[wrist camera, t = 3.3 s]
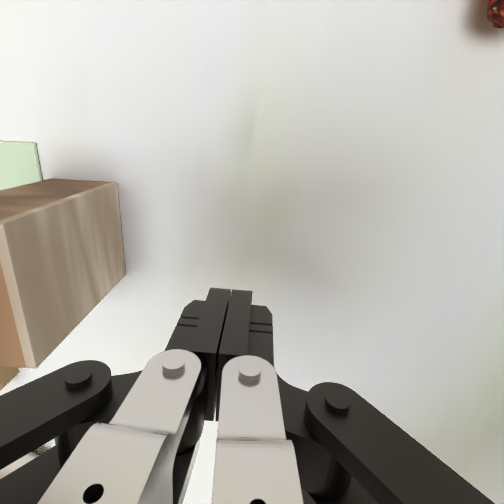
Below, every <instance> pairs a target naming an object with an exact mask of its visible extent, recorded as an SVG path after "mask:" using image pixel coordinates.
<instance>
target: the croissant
mask: <svg viewBox="0 0 504 504" xmlns="http://www.w3.org/2000/svg"><path fill="white" fill-rule="evenodd" d="M487 18H488V20H489V21H491V22H492V23H493V25H494V27H496V28H504V0H488V5H487Z"/></svg>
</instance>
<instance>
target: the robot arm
mask: <svg viewBox="0 0 504 504" xmlns="http://www.w3.org/2000/svg"><path fill="white" fill-rule="evenodd" d="M251 302H252V291H244V290H232V293H231V289H220V288H210V290H209V293H208V296H207V299H206V301H199V300H194V301H192V302H191V303H190V304H188V305H187V306H186V307H185V308H184V310H183V312H182V314H181V317H180V319H179V321H178V323H177V326H176V327H175V329H174V332H173V334H172V336H171V338H170V340H169V343H168V345H167V347H166V349H165V351H163V352H161V353H159V354H157V355H155V356H154V357H152V358H151V359H150V360H149V362H148V363H147V364H146V366H145V368H144V369H143V370H142V371H139V372H135V373H130V374H123V375H116V376H111V371H110V368H109V367H108V366H107V365H106V364H104V363H102V362H99V361H94V360H86V361H79V362H75V363H72V364H69V365H67V366H65V367H63V368H60V369H58V370H56V371H54V372H52V373H49V374H47V375H45V376H43V377H41V378H38V379H36V380H34V381H32V382H30V383H27V384H25V385H23V386H21V387H19V388H16V389H14V390H12V391H10V392H8V393H5V394H3V395H1V396H0V470H1V469H3V468H5V467H6V466H8V465H10V464H11V463H13V462H15V461H17V460H18V459H20V458H22V457H23V456H25V455H27V454H28V453H30V452H32V451H33V450H35V449H37V448H38V447H40V446H42V445H44V444H45V443H47V442H49V441H50V440H52V439H54V438H55V443H56V446H54V447H52V448H51V449H49V450H47V451H46V452H44V453H42V454H41V455H39V456H38V457H36V458H34V459H33V460H31V461H29V462H28V463H26V464H24V465H23V466H21V467H20V468H18V469H16V470H15V471H13V472H11V473H10V474H8V475H6V476H5V477H3V478H1V479H0V504H182V503H183V500H184V496H185V493H186V490H187V486H188V483H189V479H190V476H191V473H192V469H193V466H194V463H195V459H196V456H197V452H198V449H199V442H200V436H201V433H202V429H203V425H204V420H208V421H213V419H214V414H215V409H216V421H219V422H218V435H217V441H216V453H215V466H214V479H213V492H212V504H495V503H493V502H492V501H491V500H490V499H488V498H487V497H486V496H485V495H483V494H482V493H481V492H480V491H478V490H477V489H476V488H475V487H473V486H472V485H471V484H470V483H468V482H467V481H466V480H465V479H463V478H462V477H461V476H460V475H458V474H457V473H456V472H455V471H453V470H452V469H451V468H450V467H448V466H447V465H446V464H445V463H443V462H442V461H441V460H440V459H438V458H437V457H436V456H435V455H433V454H432V453H431V452H430V451H428V450H427V449H426V448H425V447H423V446H422V445H421V444H420V443H418V442H417V441H416V440H415V439H413V438H412V437H411V436H410V435H408V434H407V433H406V432H405V431H403V430H402V429H401V428H400V427H398V426H397V425H396V424H395V423H393V422H392V421H391V420H390V419H388V418H387V417H386V416H385V415H383V414H382V413H381V412H380V411H378V410H377V409H376V408H375V407H373V406H372V405H371V404H370V403H368V402H367V401H366V400H365V399H363V398H362V397H361V396H360V395H358V394H357V393H356V392H355V391H353V390H352V389H350V388H348V387H346V386H344V385H341V384H338V383H332V382H325V383H319V384H317V385H315V386H313V387H312V388H311V389H310V390H309V392H307V391H304V390H301V389H299V388H296V387H293V386H291V385H289V384H288V383H286V382H285V381H283V380H282V379H281V378H280V377H279V375H278V374H277V373H276V371H275V368H274V357H273V326H272V324H273V323H272V314H271V312H270V311H269V310H268V308H267V307H266V306H258V305H251Z"/></svg>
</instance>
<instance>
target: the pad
mask: <svg viewBox="0 0 504 504" xmlns="http://www.w3.org/2000/svg"><path fill="white" fill-rule="evenodd" d="M39 181H42V176H41V170H40V164H39V159H38V153H37V147H36V143H28V142H10V141H0V190H4V189H8V188H13V187H17V186H21V185H26V184H30V183H34V182H39Z"/></svg>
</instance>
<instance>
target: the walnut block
mask: <svg viewBox="0 0 504 504" xmlns="http://www.w3.org/2000/svg"><path fill="white" fill-rule="evenodd" d="M125 275H126V270H125V259H124V249H123V238H122V228H121V217H120V207H119V196H118V186H117V183H115V182H98V181H81V180H64V179H47V180H43V181H39V182H34V183H30V184H26V185H21V186H17V187H13V188H8V189H4V190H0V366H7V367H22V368H37V367H38V366H39V365H40V364H41V363H42V362H43V361H44V360H45V359H46V358H47V357H48V356H49V354H50V353H51V352H52V351H53V350H54V349H55V348H56V347H57V346H58V345H59V344H60V343H61V342H62V341H63V340H64V339H65V338H66V337H67V336H68V335H69V334H70V332H71V331H72V330H73V329H74V328H75V327H76V326H77V325H78V324H79V323H80V322H81V321H82V320H83V319H84V318H85V317H86V316H87V315H88V314H89V313H90V311H91V310H92V309H93V308H94V307H95V306H96V305H97V304H98V303H99V302H100V301H101V300H102V299H103V298H104V297H105V296H106V295H107V294H108V293H109V292H110V291H111V289H112V288H113V287H114V286H115V285H116V284H117V283H118V282H119V281H120V280H121V279H122V278H123V277H124V276H125Z"/></svg>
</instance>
